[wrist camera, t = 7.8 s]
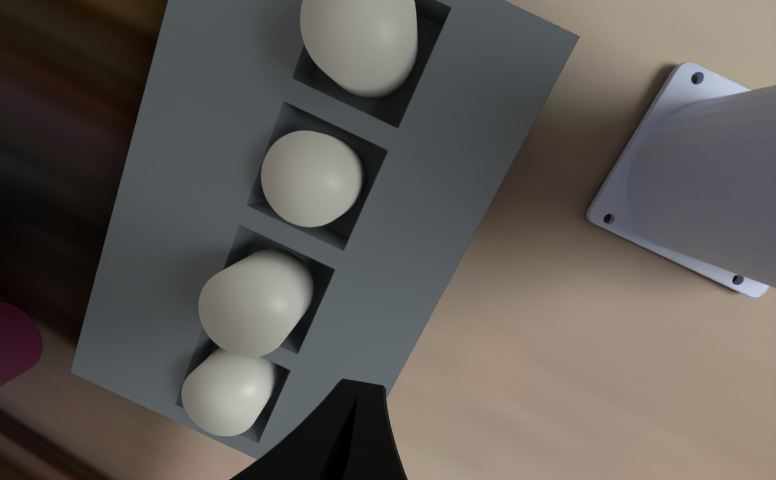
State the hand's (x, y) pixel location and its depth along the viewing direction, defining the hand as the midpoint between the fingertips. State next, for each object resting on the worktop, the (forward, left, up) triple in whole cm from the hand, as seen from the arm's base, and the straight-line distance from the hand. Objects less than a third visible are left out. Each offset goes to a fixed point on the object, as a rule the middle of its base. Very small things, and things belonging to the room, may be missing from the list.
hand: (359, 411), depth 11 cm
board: (+6, -2, -10) cm, 12 cm away
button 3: (+5, +2, -8) cm, 10 cm away
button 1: (+5, -10, -8) cm, 14 cm away
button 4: (+6, +7, -9) cm, 13 cm away
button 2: (+5, -4, -9) cm, 12 cm away
